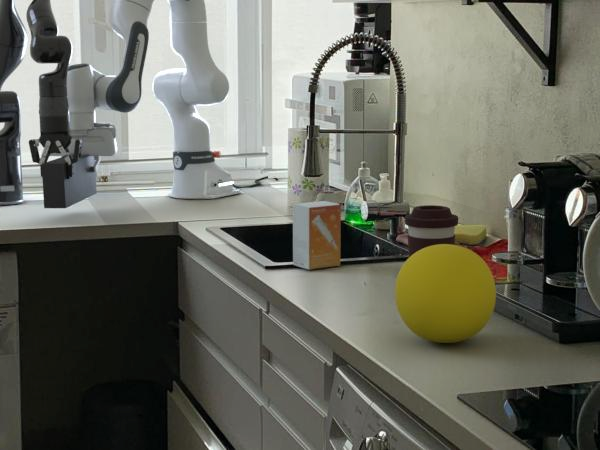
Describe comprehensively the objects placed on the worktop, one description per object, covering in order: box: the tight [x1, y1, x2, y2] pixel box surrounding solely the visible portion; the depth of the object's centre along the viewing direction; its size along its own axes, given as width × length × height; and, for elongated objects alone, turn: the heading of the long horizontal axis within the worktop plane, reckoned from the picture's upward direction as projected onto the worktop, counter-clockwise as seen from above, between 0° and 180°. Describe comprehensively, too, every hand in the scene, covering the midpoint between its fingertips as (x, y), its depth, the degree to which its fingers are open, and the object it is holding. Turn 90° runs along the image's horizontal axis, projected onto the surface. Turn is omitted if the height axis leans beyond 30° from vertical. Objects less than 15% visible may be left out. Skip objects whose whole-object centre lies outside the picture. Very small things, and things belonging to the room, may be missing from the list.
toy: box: [394, 244, 497, 344], centre depth 160 cm, size 15×15×15 cm
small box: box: [292, 200, 342, 271], centre depth 216 cm, size 8×6×13 cm
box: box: [41, 155, 97, 209], centre depth 283 cm, size 28×6×12 cm, turn 175°
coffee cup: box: [404, 204, 459, 258], centre depth 197 cm, size 10×10×15 cm
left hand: (57, 178), depth 272 cm, fingers closed on box, 5 cm apart
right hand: (81, 172), depth 293 cm, fingers closed on box, 6 cm apart
